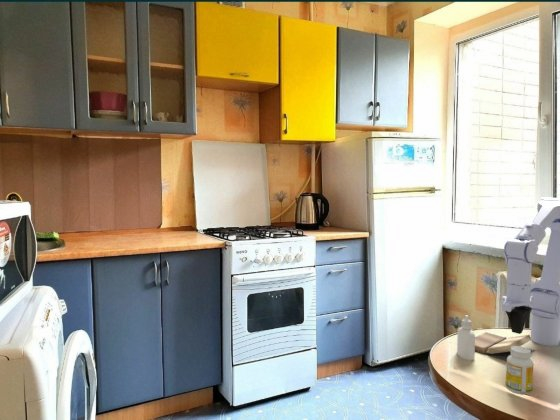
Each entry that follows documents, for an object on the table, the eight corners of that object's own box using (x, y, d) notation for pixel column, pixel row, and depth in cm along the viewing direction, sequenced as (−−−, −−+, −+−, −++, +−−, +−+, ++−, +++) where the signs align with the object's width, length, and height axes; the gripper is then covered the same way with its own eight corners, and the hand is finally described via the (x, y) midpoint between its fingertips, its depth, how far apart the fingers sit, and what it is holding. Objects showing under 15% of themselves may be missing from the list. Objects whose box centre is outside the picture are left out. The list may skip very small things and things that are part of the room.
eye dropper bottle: (474, 356, 116) (475, 313, 115) (474, 364, 111) (475, 319, 110) (457, 353, 118) (458, 311, 117) (456, 361, 113) (457, 317, 112)
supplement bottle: (510, 394, 95) (511, 352, 95) (502, 383, 100) (503, 344, 100) (536, 396, 94) (538, 354, 94) (526, 385, 99) (528, 345, 99)
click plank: (508, 343, 123) (506, 338, 124) (531, 339, 118) (529, 334, 119) (487, 354, 115) (485, 348, 116) (511, 351, 110) (508, 345, 111)
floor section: (484, 338, 129) (484, 331, 129) (535, 353, 118) (536, 345, 118) (461, 349, 121) (461, 341, 121) (513, 366, 110) (514, 357, 109)
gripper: (514, 277, 122) (513, 323, 123) (491, 284, 113) (489, 334, 114) (541, 281, 117) (539, 329, 117) (519, 289, 108) (517, 341, 108)
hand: (516, 332), depth 115 cm, fingers closed
